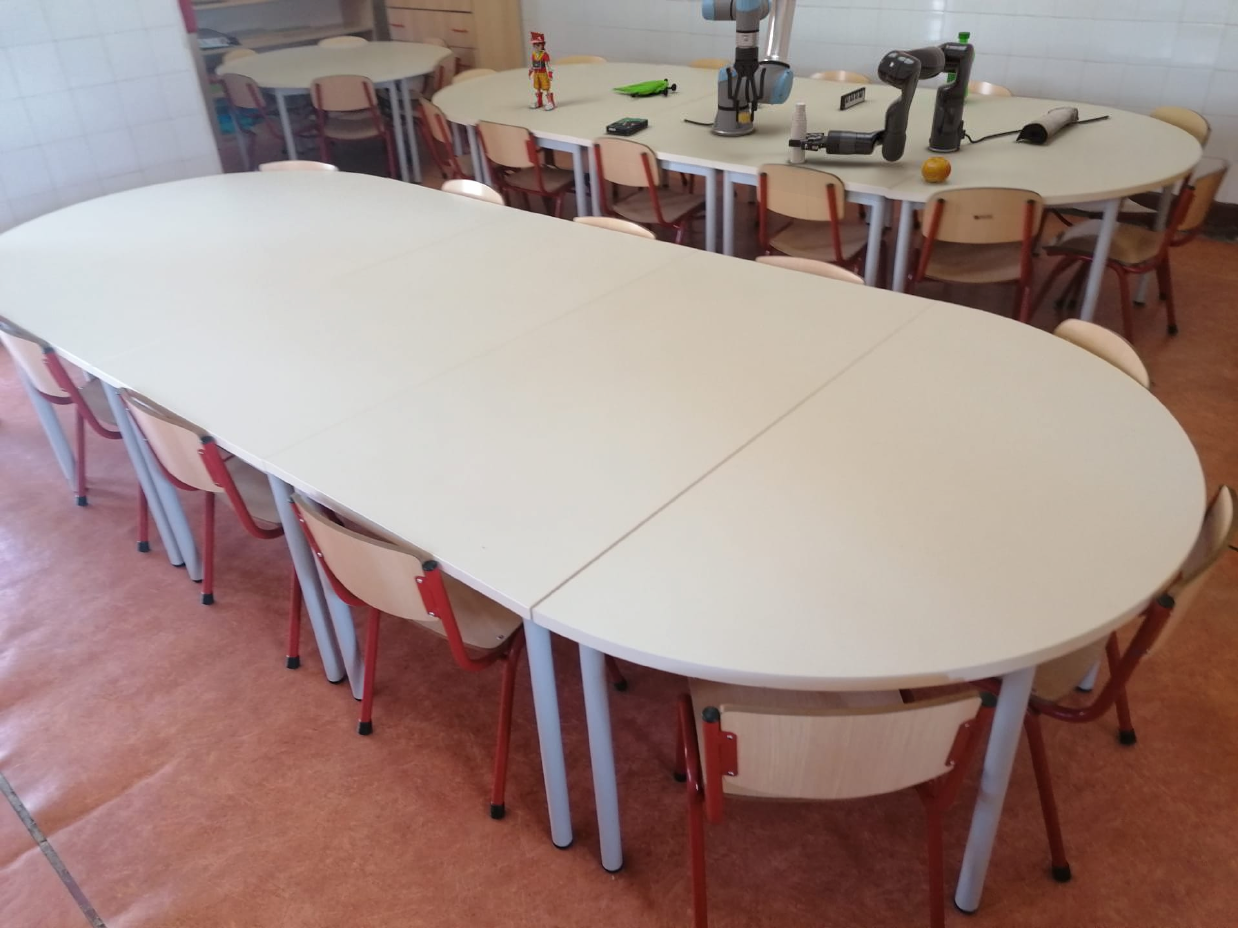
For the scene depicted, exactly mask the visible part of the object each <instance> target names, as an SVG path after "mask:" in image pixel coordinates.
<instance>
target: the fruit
mask: <svg viewBox="0 0 1238 928" xmlns="http://www.w3.org/2000/svg"><path fill="white" fill-rule="evenodd" d="M951 173H952V165H951V163H950V161H949V160H948V159H947V158H945V157H943V156H933V157H929V158H927V159H926V160H925V161H924V162H923V164H922V166H921V176H922V177H923V179H924V180H925V181H927V182H930V183H941V182H944V181H945V180H946V179H948V178H949V177H950V175H951Z"/></svg>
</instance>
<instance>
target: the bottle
mask: <svg viewBox="0 0 1238 928" xmlns="http://www.w3.org/2000/svg"><path fill="white" fill-rule="evenodd" d="M806 106H807V104H806V102H796V103H795V105H794V107H795V109H794V114H793V117H792V121H791V132H790V135H791V136H790V139H792V140H806V133H808V120H807V119H808V118H807V112H806ZM806 145H807V144H805V146H806ZM789 154H790V155H789V162H790V164H803V163H805V161H806V150H801V148H800V147H790V149H789Z"/></svg>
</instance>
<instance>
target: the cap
mask: <svg viewBox="0 0 1238 928" xmlns="http://www.w3.org/2000/svg"><path fill="white" fill-rule="evenodd" d="M738 121H739V122H750V121H751V112H750V113H746V112H745V113H739V114H738Z"/></svg>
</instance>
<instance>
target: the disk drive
mask: <svg viewBox="0 0 1238 928" xmlns="http://www.w3.org/2000/svg"><path fill="white" fill-rule="evenodd" d="M648 126H649V120H648V119H647V118H639V117H636V118H635V117H628V116H627V117H624V118H621V119H619V120H617V121H614V122H613V123H610V124H608V125H606V126H605V130H606V131H605V132H606V133H607V134H613V135H619V136H621V135H622V136H630V135H633V134H634V133H637V132H638V131H641V130H643V129H645V128H646V127H648Z"/></svg>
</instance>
